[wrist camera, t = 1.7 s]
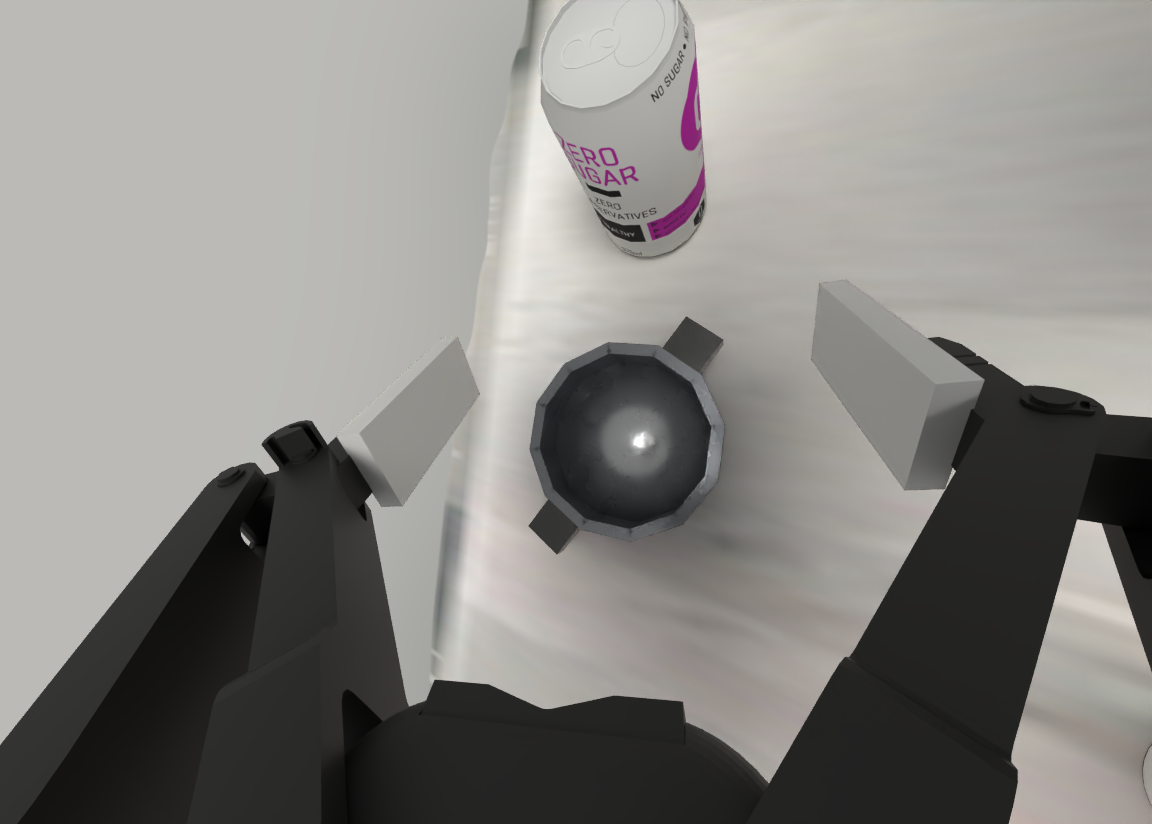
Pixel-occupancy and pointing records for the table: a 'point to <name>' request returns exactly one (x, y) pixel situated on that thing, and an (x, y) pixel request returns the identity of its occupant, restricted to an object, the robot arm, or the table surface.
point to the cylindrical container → (1148, 774)
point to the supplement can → (629, 116)
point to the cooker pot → (627, 439)
